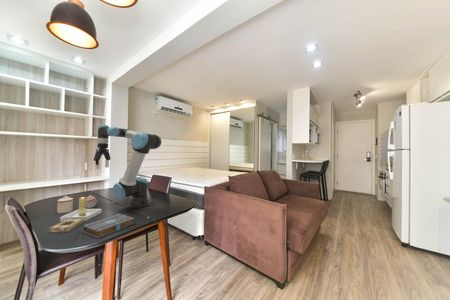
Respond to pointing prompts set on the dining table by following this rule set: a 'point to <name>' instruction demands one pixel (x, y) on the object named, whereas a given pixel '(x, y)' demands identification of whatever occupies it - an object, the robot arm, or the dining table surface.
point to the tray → (75, 215)
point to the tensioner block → (66, 225)
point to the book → (107, 225)
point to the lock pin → (82, 206)
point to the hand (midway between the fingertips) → (102, 168)
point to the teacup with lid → (65, 205)
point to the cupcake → (90, 202)
